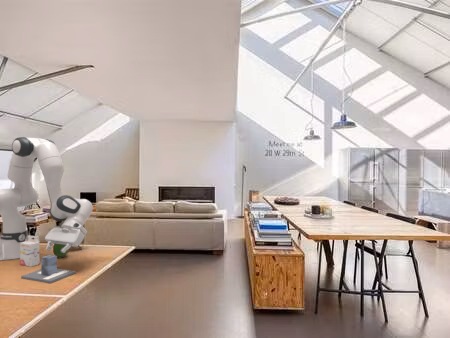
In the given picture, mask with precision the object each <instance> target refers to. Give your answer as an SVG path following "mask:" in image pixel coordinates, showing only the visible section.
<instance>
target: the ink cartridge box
mask: <svg viewBox="0 0 450 338" xmlns="http://www.w3.org/2000/svg"><path fill="white" fill-rule="evenodd" d="M27 239H28V241H26V242H21V243H20V258H19V266H25V267H30V268H31V267H35V266H38V265H40V236H37V235H36V236H35V235H28V234H27Z"/></svg>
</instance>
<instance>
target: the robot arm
mask: <svg viewBox="0 0 450 338" xmlns="http://www.w3.org/2000/svg"><path fill="white" fill-rule="evenodd" d="M11 151H12V152H13V153H12V155H11V158H10V160H9V165H8V171H7V178H8V180H10V181H11V182H12V183H13V184H14V187H12V188H2V189H0V216H1V220H2V232H0V261H5V260H7V261H8V260H17V259H20V243H21V242H26V241H28V230H27V218H26V216H25V215H24V214H22V213H20V212H19V209H18V208H21V207H29V206H31V205H34V204H36V203H37V202H38V200H39V193H38V191H37V190H36V189H35V188H34V187H33V185H32V172H33V167H34V161H35V159H37V162H38V165H39V167H40V171H41V173H42V177H43V179H44V182H45V185H46V189H47V194H48V197H49V201H50V208H49V215H50V218H51V219H52V220H54V221H56V222H63V221H65V222H64V223H63V224H62V226H59V225H57V226H55V227H53V228H51V230H49V231H48V233H47V234H46V235H45V237H44V241H46V242H47V246H46V248H45V250H46V251H48V252H49V251H51V250H53V247H52V245H53V246H54V244H63V245H66V246H65V247H64V248H62V249H61V252H62V253H65V252H66V250H68V249H69V250H70V248H72V247H78V245H79V246H80V245H81V244H82V243H81V242H82V241H83V239H84V240H85V238H86V237H85V236H86V235H87V233H88V231H87V229H86V228H84V227H85V223H86V222H87V220H88V219H89V218H90V217H91V215H92V213H93V210H94V206H93V204H92V202H91V201H90V200H89V199H86V198H76V197H73V196H71V195H63V191H62V189H61V181H62V178H63V176H64V171H65V168H64V167H65V166H64V161H63V158H62V155H61V153H60V151H59V148H58V147H57V145H56V144H55V142H54V140H50V139H48V138H47V139H44V138H41V137H25V136H20V137H19V136H18V137H16V138H15V139H13V141H12V144H11ZM83 225H84V227H83ZM84 237H85V238H84ZM69 250H68V251H69Z"/></svg>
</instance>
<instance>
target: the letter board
mask: <svg viewBox="0 0 450 338" xmlns="http://www.w3.org/2000/svg"><path fill="white" fill-rule="evenodd" d="M76 272H77V271H76V270H70V269H63V268H57V273H54V274H52V275H49V276H48V275H41V269H38V270H35V271H32V272H29V273H25V274H24V275H20V279H23V280H30V281H35V282H40V283H47V284H53V283H56V282H58V281H60V280H62V279H66V278H67V277H70V276H73V275H75V274H76Z"/></svg>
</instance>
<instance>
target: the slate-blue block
mask: <svg viewBox="0 0 450 338" xmlns="http://www.w3.org/2000/svg"><path fill="white" fill-rule="evenodd" d="M40 261H41V262H40V264H41V265H40V270H41V275H48V276H49V275H52V274H54V273H57V269H58V268H57V267H58V266H57V265H58V257H57V256H55V254H47V255H45V256H42V257H41V259H40Z"/></svg>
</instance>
